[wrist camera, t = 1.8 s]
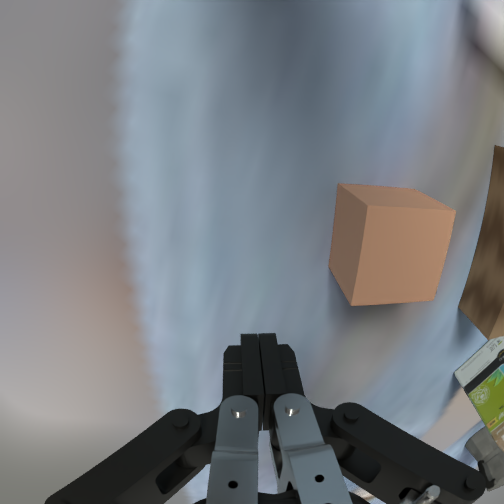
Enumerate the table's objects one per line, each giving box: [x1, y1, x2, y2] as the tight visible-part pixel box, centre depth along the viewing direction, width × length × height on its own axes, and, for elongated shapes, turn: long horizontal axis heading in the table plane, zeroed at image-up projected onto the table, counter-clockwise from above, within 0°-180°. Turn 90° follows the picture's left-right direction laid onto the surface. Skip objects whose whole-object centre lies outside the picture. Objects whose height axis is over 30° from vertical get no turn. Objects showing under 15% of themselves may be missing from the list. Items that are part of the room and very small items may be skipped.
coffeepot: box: [465, 426, 504, 491], centre depth 43 cm, size 15×9×18 cm, turn 70°
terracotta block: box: [329, 183, 456, 306], centre depth 26 cm, size 8×8×7 cm
